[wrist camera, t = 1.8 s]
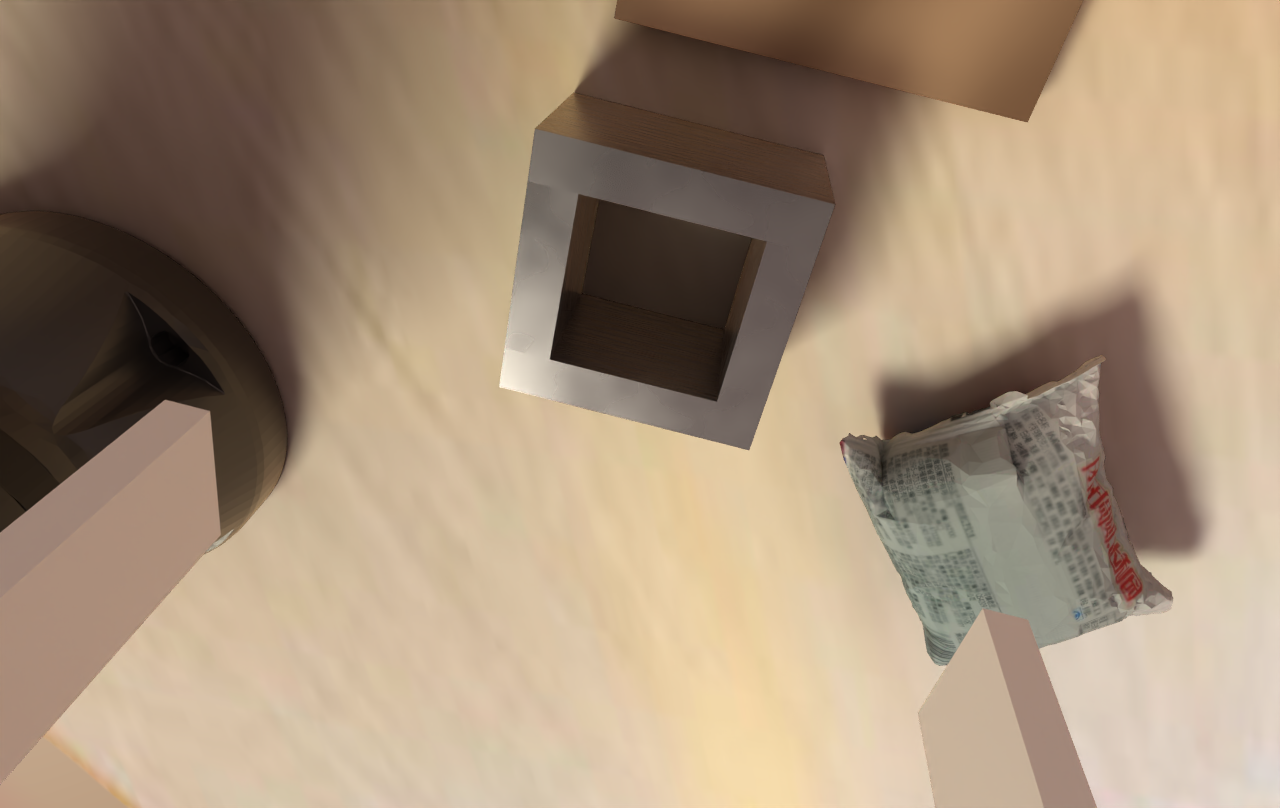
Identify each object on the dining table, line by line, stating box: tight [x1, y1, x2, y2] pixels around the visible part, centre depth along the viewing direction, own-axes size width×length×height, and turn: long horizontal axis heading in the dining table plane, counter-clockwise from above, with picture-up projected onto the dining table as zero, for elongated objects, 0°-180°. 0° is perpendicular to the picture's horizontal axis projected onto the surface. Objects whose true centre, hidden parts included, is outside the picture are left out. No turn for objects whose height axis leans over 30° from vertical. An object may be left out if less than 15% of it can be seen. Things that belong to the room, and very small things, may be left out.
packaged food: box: [840, 355, 1173, 666], centre depth 29 cm, size 9×12×5 cm
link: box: [499, 93, 835, 450], centre depth 25 cm, size 8×8×5 cm
